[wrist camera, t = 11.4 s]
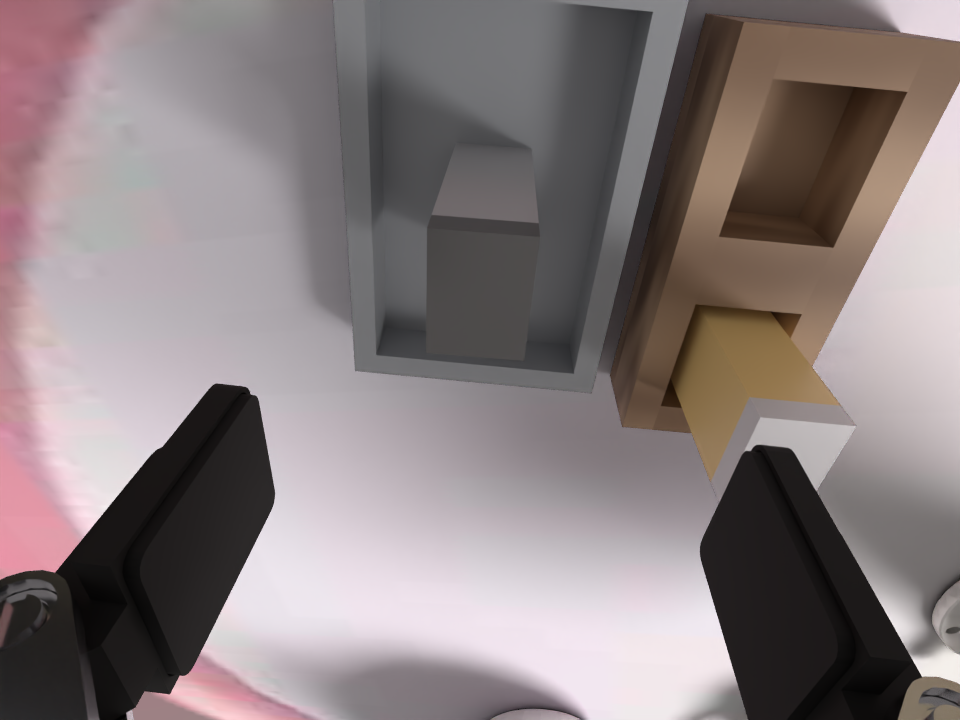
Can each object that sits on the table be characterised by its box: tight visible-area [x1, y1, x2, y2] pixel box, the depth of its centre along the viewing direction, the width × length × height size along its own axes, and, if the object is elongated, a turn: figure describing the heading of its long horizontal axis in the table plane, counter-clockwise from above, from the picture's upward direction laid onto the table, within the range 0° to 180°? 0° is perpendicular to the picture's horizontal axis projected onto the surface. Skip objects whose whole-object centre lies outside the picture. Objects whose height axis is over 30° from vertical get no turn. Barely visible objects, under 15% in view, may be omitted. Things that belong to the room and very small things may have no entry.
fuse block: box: [610, 14, 960, 433], centre depth 23 cm, size 16×7×4 cm, turn 176°
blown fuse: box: [426, 143, 540, 361], centre depth 20 cm, size 4×3×9 cm
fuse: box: [670, 304, 857, 503], centre depth 22 cm, size 4×3×9 cm
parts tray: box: [333, 0, 689, 393], centre depth 23 cm, size 16×11×3 cm
